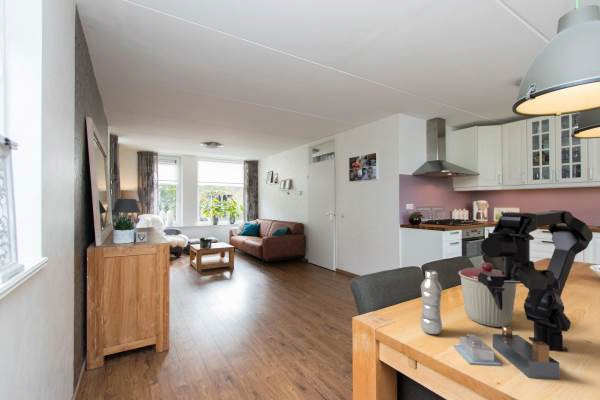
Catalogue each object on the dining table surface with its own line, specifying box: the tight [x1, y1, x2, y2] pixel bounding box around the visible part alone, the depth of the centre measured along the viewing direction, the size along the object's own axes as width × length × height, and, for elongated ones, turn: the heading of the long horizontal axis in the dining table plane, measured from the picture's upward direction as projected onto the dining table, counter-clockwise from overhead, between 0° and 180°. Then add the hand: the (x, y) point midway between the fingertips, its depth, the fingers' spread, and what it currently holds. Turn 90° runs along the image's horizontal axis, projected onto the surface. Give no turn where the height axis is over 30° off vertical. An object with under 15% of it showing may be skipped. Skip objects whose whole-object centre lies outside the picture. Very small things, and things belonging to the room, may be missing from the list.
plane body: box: [492, 325, 560, 380], centre depth 73 cm, size 14×7×8 cm, turn 175°
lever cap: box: [459, 333, 495, 362], centre depth 76 cm, size 7×5×4 cm
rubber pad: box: [452, 344, 502, 367], centre depth 76 cm, size 9×8×1 cm
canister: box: [458, 262, 518, 328], centre depth 98 cm, size 18×18×21 cm
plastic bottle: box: [420, 269, 443, 335], centre depth 89 cm, size 6×7×20 cm
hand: (517, 310), depth 78 cm, fingers open, 9 cm apart
